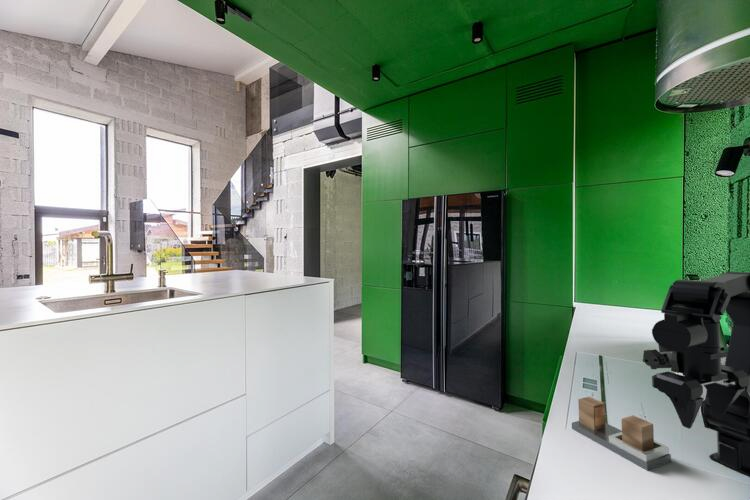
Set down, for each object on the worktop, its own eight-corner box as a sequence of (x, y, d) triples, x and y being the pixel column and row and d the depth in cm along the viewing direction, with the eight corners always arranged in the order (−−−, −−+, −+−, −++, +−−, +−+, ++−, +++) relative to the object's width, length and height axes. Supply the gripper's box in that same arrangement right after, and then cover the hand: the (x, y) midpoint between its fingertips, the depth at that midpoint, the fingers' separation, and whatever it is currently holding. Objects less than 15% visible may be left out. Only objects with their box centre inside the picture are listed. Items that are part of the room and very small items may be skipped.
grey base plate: (593, 422, 84) (593, 411, 84) (671, 461, 68) (670, 447, 68) (571, 428, 81) (571, 416, 81) (647, 470, 65) (646, 456, 65)
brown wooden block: (589, 419, 83) (589, 396, 83) (606, 427, 79) (605, 403, 79) (579, 422, 81) (578, 399, 82) (595, 430, 77) (594, 406, 78)
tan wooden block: (654, 451, 69) (653, 423, 69) (642, 455, 68) (641, 427, 68) (632, 440, 73) (631, 414, 73) (621, 444, 72) (620, 417, 72)
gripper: (679, 330, 72) (682, 398, 72) (622, 338, 67) (624, 411, 66) (749, 343, 61) (752, 422, 61) (687, 353, 56) (690, 441, 56)
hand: (701, 423), depth 61 cm, fingers open, 9 cm apart
